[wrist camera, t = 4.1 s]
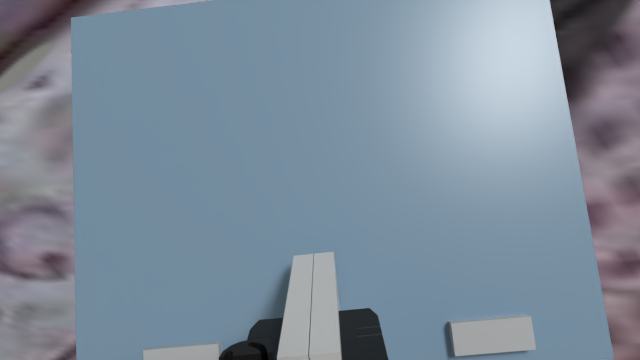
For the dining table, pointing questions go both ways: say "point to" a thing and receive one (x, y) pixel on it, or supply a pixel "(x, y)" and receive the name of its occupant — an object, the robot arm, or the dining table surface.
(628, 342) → the dining table surface
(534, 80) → the cover
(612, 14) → the dining table surface
